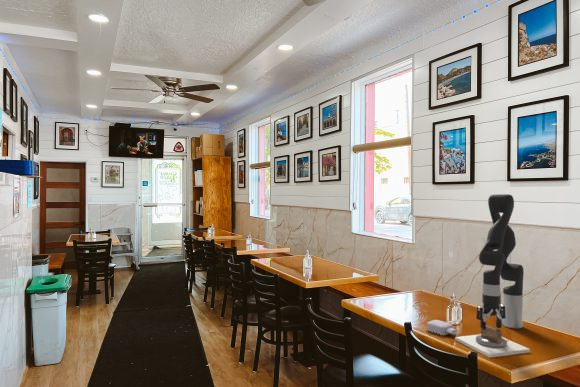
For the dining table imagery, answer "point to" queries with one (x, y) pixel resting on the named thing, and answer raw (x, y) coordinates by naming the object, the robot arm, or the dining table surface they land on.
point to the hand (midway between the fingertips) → (490, 328)
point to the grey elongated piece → (441, 327)
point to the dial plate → (490, 351)
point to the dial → (491, 338)
